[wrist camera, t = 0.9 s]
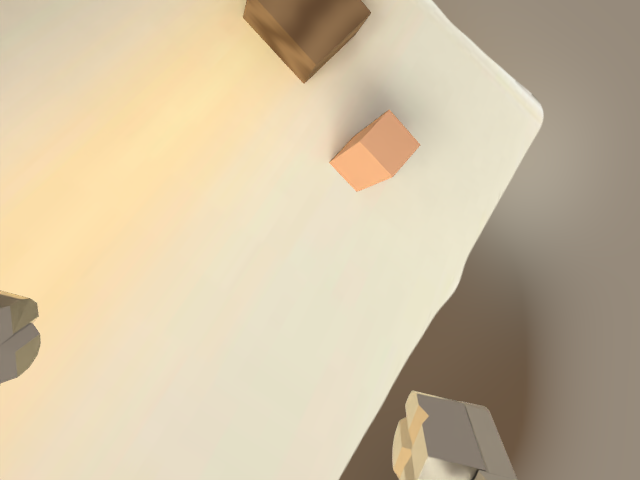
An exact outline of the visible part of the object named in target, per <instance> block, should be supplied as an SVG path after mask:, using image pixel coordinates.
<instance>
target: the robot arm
mask: <svg viewBox="0 0 640 480" xmlns="http://www.w3.org/2000/svg"><path fill="white" fill-rule="evenodd" d="M38 316H39V315H38V308H37V303H36V302H35V301H33V300H32V299H30V298H27V297H23V296H19V295H16V294H12V293H8V292H4V291H1V290H0V384H1V383H3V382H5V381H8V380H11V379H14V378H17V377H18V376H20V375H21V374H22V373H23V372H24V371H25V370H27V369H28V368H29V367H30V365H31V364H32V362H33V361H34V359H35V358H36V356H37V355H38V351H39V347H40V344H41V343H40V333H39V332H38V330H37V329H36V327H35V326H34V325H33V322H34V321H35V320H36V319H37V318H38ZM405 407H406V415H407V417H405V418H403V419H402V420H400V421H399V423H398V427H397V429H396V432H395V437H394V443H393V456H392V458H393V459H392V460H393V470H394V472H395V473H396V474H397V476H398V477H399V480H517V478H516V475H515V472H514V470H513V468H512V465H511V463H510V460H509V458H508V455H507V453H506V451H505V448H504V445H503V443H502V441H501V438H500V436H499V434H498V431H497V428H496V426H495V424H494V421H493V419H492V416H491V414H490V411H489V410H488V409H487V408H486V407H485V406H480V405H476V404H471V403H466V402H462V401H461V402H458V401H454V400H450V399H446V398H441V397H437V396H433V395H429V394H425V393H420V392H416V391H412V392H411V393H410V395H409V397H408V399H407V402H406V404H405Z"/></svg>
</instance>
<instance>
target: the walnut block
mask: <svg viewBox="0 0 640 480" xmlns="http://www.w3.org/2000/svg"><path fill="white" fill-rule="evenodd" d="M370 14H371V12H370V11H369V9H368V8H367V7H366V6H365V5H364V3H363V2H362V1H361V0H247V2H246V7H245V11H244V16H243V18H244V19H245V20H246V21H247V22H248V23H249V25H250V26H251V27H252V28H253V29H254V30H255V31H256V32H257V33H258V34H259V35H260V37H261V38H262V39H263V40H264V41H265V42H266V43H267V44H268V45H269V46H270V47H271V48H272V50H273V51H274V52H275V53H276V54H277V55H278V56H279V57H280V58H281V59H282V60H283V62H284V63H285V64H286V65H287V66H288V67H289V68H290V69H291V70H292V71H293V72H294V73H295V75H296V76H297V77H298V78H299V79H300V80H301V81H302V82H303V83H305V82H306V81H307V80H308V79H309V78H311V77H312V76H313V75H314V74H315V73H316V72H317V71H318V70H319V69H320V68H321V67H322V66H323V65H324V64H325V63H326V62H327V61H328V60H329V59H330V58H331V57H333V56H334V55H335V54H336V53H337V52H338V51H339V50H340V49H341V48H342V47H343V46H344V45H345V44H346V43H347V42H348V41H349V40H350V39H351V38H352V37H353V36H354V35H355V34H356V33H357V32H358V30H359V29H360V27H361V26H362V25H363V23H364V22H365V21H366V19H367V18H368V16H369V15H370Z"/></svg>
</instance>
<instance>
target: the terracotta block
mask: <svg viewBox="0 0 640 480" xmlns="http://www.w3.org/2000/svg"><path fill="white" fill-rule="evenodd" d="M419 146H420V144H419V143H418V142H417V140H416V139H415V138H414V137H413V136H412V135H411V134H410V133H409V131H408V130H407V129H406V128H405V127H404V126H403V125H402V123H401V122H400V121H399V120H398V119H397V118H396V117H395V115H394V114H393V113H392V112H391V111H390V110H388V111H387V112H385V113H384V114H383V115H381V116H380V117H379V118H377V119H376V120H375V121H373V122H372V123H371V124H370V125H368V126H367V127H366V128H364V129H363V130H362V131H360V132H359V133H358V134H356V135H355V136H354V137H353V138H352V139H351V140H350V141H349V142H348V143H347V144H346V145H345V146H344V147H343V149H342V150H341V151H340V152H339V153H338V154H337V155H336V156H335V157H334V158H333V159H332V160H331V161H330V162H329V163H330V164H331V165H332V166H333V167H334V168H335V169H336V170H337V171H338V172H339V174H340V175H341V176H342V177H343V178H344V179H345V180H346V181H347V182H348V183H349V184H350V185H351V186H352V187H353V188H354V189H355V190H356V191H360V190H362V189H365V188H367V187H370V186H372V185H374V184H377V183H379V182H382V181H384V180H387V179H389V178H392V177H393V176H394V175H395V174H396V173H397V171H398V170H399V169H400V168H401V167H402V166H403V165H404V163H405V162H406V161H407V160H408V159H409V158H410V156H411V155H412V154H413V153H414V152H415V151H416V149H417V148H418V147H419Z"/></svg>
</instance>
